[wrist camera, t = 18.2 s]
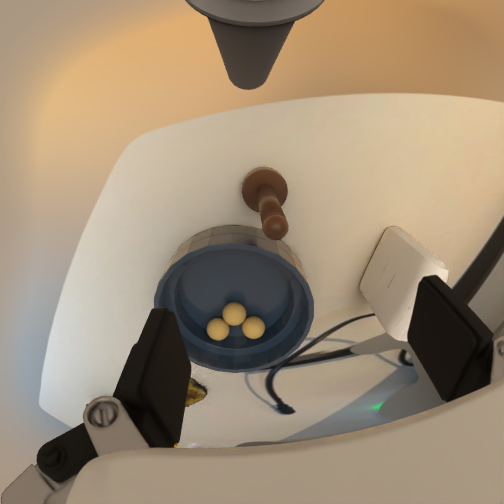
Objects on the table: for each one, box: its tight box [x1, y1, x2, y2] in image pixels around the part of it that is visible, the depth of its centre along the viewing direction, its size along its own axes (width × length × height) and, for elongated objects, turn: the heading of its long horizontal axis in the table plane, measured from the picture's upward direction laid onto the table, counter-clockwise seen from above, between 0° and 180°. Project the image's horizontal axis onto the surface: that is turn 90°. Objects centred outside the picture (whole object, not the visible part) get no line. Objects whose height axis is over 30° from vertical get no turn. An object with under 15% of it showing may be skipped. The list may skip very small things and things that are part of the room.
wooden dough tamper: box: [242, 167, 288, 240], centre depth 26 cm, size 5×5×14 cm
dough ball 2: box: [223, 302, 246, 326], centre depth 37 cm, size 3×3×3 cm
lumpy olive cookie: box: [185, 378, 207, 407], centre depth 44 cm, size 9×5×15 cm
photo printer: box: [359, 226, 449, 342], centre depth 31 cm, size 10×4×12 cm, turn 162°
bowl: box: [154, 225, 314, 373], centre depth 35 cm, size 18×18×6 cm
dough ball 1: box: [207, 318, 229, 340], centre depth 38 cm, size 3×3×3 cm
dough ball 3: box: [242, 316, 265, 339], centre depth 38 cm, size 3×3×3 cm
